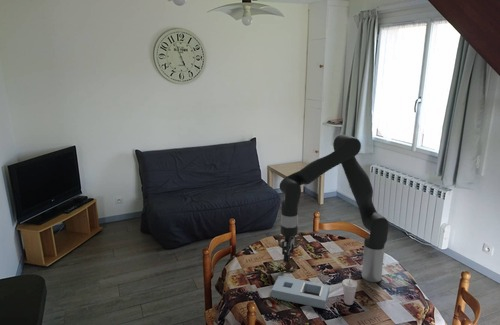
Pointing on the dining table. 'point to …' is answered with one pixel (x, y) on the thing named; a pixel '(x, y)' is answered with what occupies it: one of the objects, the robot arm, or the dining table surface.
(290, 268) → the candlestick
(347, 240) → the dining table surface
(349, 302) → the smoothie
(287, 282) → the socket block
